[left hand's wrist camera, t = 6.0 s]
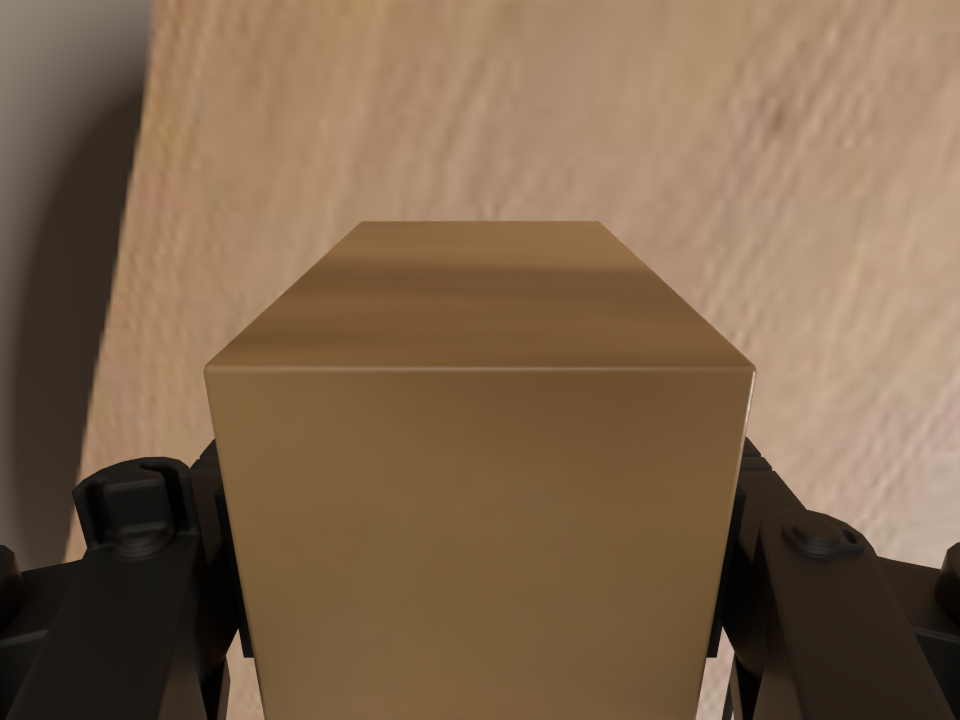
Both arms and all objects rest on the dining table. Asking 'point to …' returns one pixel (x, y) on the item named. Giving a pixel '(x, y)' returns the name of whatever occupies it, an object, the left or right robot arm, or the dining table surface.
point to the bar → (480, 478)
